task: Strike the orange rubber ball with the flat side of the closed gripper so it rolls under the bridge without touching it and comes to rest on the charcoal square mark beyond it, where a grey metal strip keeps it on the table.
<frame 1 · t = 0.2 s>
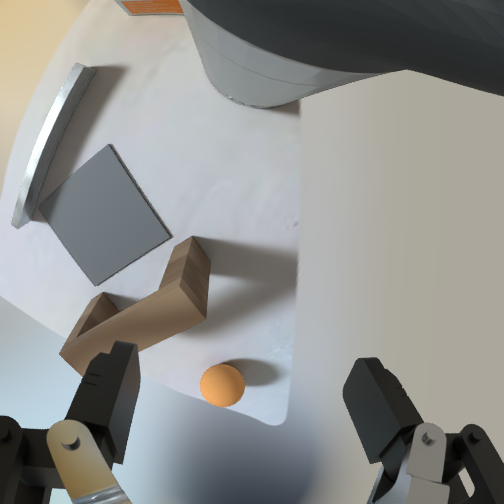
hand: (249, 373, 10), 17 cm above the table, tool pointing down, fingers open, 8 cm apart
stopper: (52, 147, 21), on the table
ball: (222, 385, 31), on the table
bridge: (144, 282, 27), on the table
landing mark: (98, 220, 24), on the table
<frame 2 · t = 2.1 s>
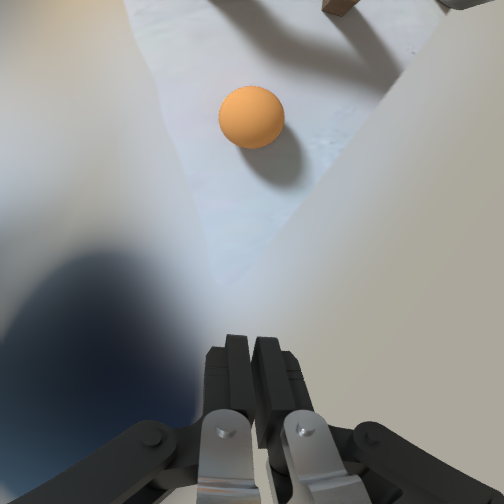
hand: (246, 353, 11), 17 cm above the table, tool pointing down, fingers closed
ball: (251, 117, 21), on the table
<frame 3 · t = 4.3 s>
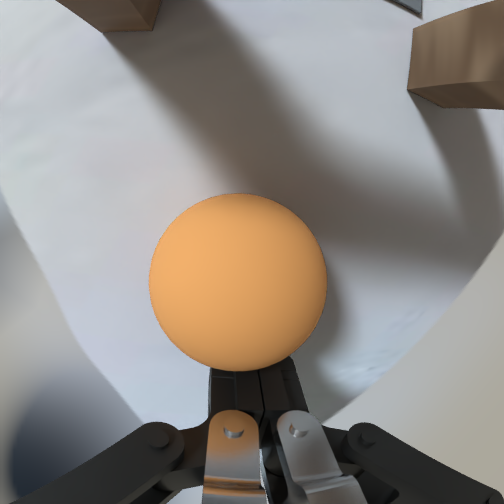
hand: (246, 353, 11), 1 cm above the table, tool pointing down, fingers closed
ball: (237, 282, 8), on the table
bridge: (296, 14, 8), on the table
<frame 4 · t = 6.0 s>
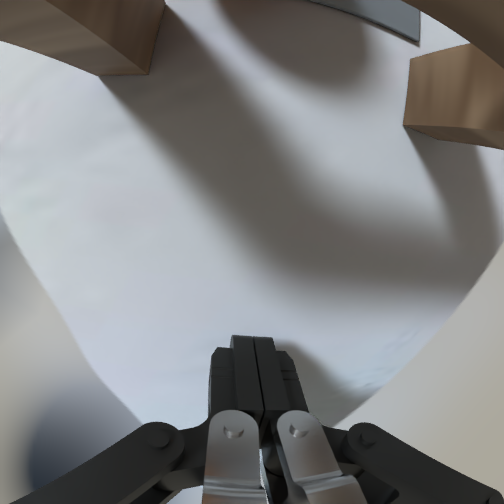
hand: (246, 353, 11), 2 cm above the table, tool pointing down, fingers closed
bridge: (292, 52, 8), on the table
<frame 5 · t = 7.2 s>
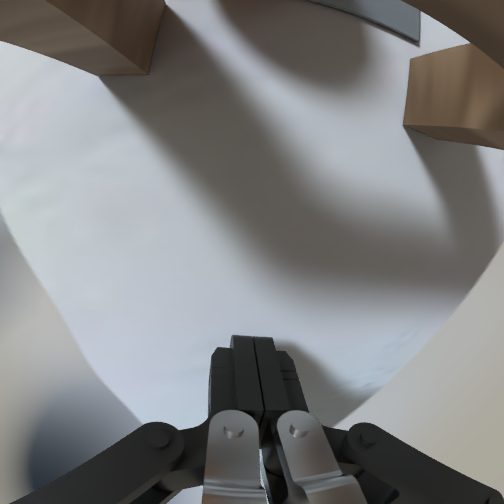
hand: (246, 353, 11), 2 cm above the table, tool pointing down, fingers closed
bridge: (292, 52, 8), on the table
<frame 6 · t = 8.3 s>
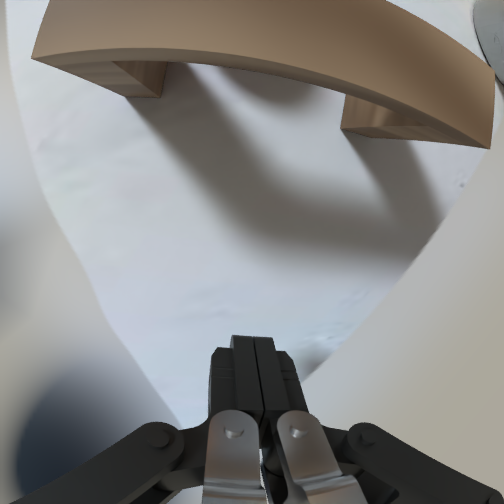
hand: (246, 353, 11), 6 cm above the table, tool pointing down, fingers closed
bridge: (258, 81, 13), on the table
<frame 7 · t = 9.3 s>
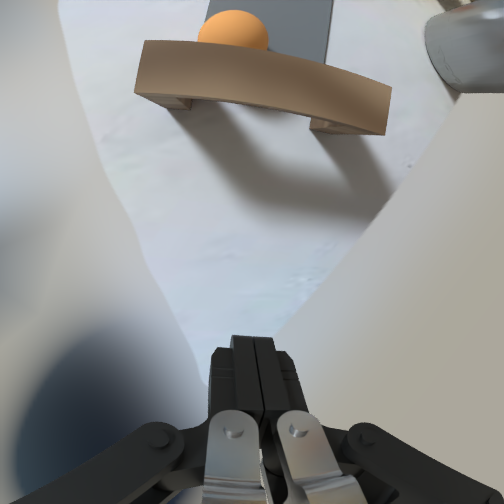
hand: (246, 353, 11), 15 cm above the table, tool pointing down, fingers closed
ball: (233, 40, 17), on the table
bridge: (254, 99, 21), on the table
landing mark: (268, 19, 18), on the table
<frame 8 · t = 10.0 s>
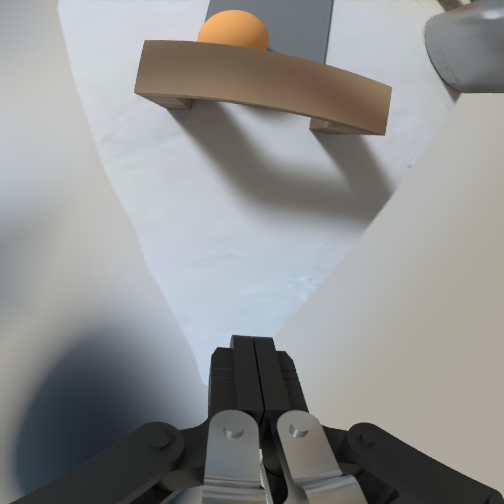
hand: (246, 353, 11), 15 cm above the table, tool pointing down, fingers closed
ball: (233, 40, 17), on the table
bridge: (254, 99, 21), on the table
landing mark: (268, 19, 18), on the table
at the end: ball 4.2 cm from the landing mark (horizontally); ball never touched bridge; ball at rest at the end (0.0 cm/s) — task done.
